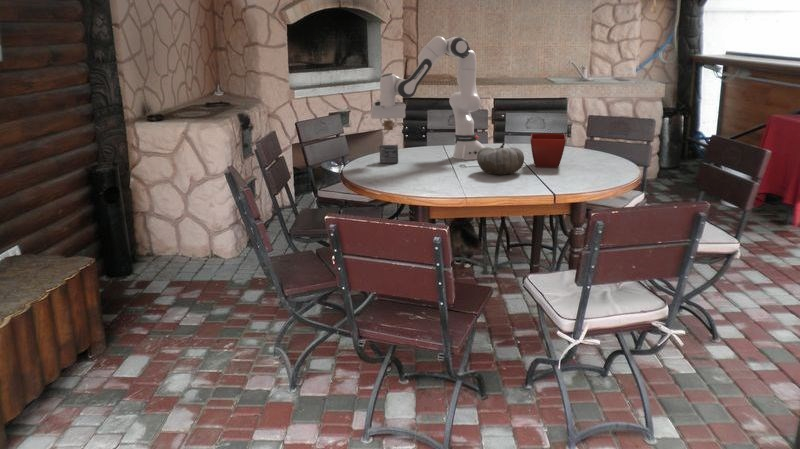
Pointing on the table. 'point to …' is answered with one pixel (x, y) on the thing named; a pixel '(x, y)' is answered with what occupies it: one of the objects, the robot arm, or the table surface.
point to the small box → (388, 154)
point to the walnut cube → (388, 124)
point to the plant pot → (547, 149)
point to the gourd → (500, 160)
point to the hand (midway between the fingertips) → (388, 126)
